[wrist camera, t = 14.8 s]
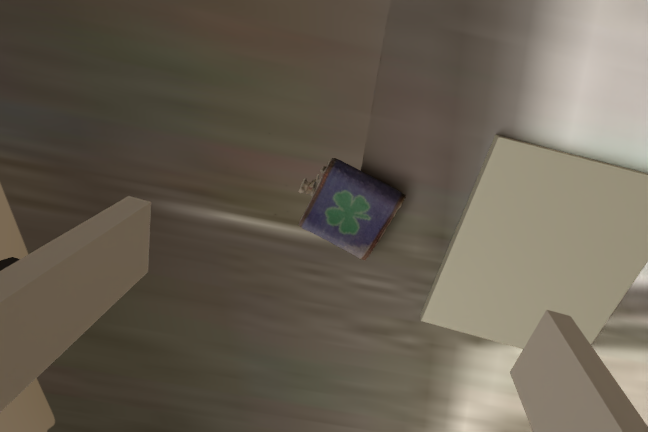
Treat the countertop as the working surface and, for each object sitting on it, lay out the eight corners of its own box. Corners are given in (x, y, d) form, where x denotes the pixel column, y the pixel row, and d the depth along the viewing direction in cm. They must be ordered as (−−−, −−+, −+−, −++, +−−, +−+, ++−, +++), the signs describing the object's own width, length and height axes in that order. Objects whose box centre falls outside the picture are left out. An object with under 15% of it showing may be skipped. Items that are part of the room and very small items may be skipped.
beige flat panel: (495, 134, 40) (498, 136, 39) (688, 184, 40) (696, 187, 39) (420, 314, 50) (421, 320, 49) (573, 357, 50) (577, 364, 49)
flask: (364, 265, 45) (281, 220, 45) (366, 253, 47) (288, 211, 47) (406, 198, 41) (316, 150, 41) (406, 190, 44) (321, 144, 44)
